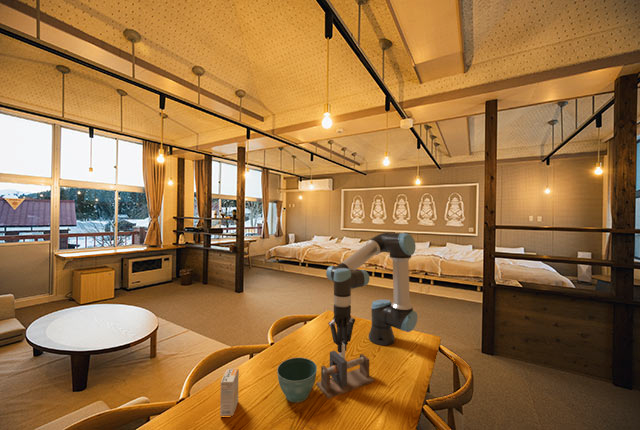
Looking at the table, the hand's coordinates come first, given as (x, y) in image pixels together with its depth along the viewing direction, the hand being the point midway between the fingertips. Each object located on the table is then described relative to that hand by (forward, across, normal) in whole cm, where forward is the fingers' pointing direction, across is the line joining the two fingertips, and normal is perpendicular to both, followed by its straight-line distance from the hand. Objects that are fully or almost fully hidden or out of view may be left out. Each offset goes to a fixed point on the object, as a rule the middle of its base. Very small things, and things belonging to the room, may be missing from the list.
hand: (341, 358), depth 110 cm
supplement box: (+11, +46, -7) cm, 47 cm away
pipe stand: (+11, -2, 0) cm, 11 cm away
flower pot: (+11, +20, -3) cm, 23 cm away
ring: (+9, +2, 0) cm, 9 cm away
